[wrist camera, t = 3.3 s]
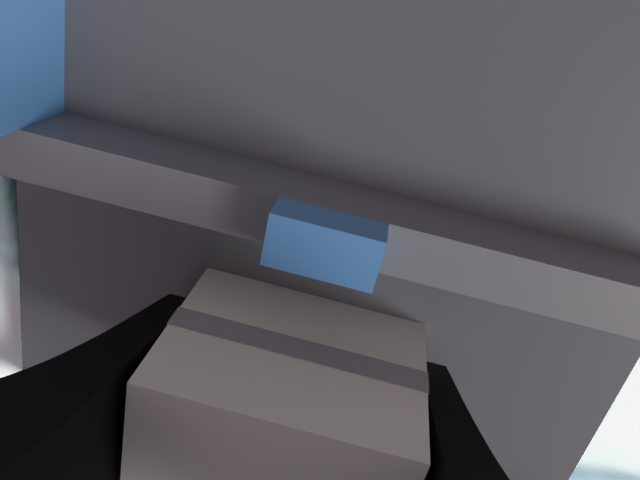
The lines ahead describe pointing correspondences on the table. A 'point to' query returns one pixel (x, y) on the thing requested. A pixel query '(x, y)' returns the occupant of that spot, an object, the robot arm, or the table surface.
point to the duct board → (346, 180)
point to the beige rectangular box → (278, 390)
